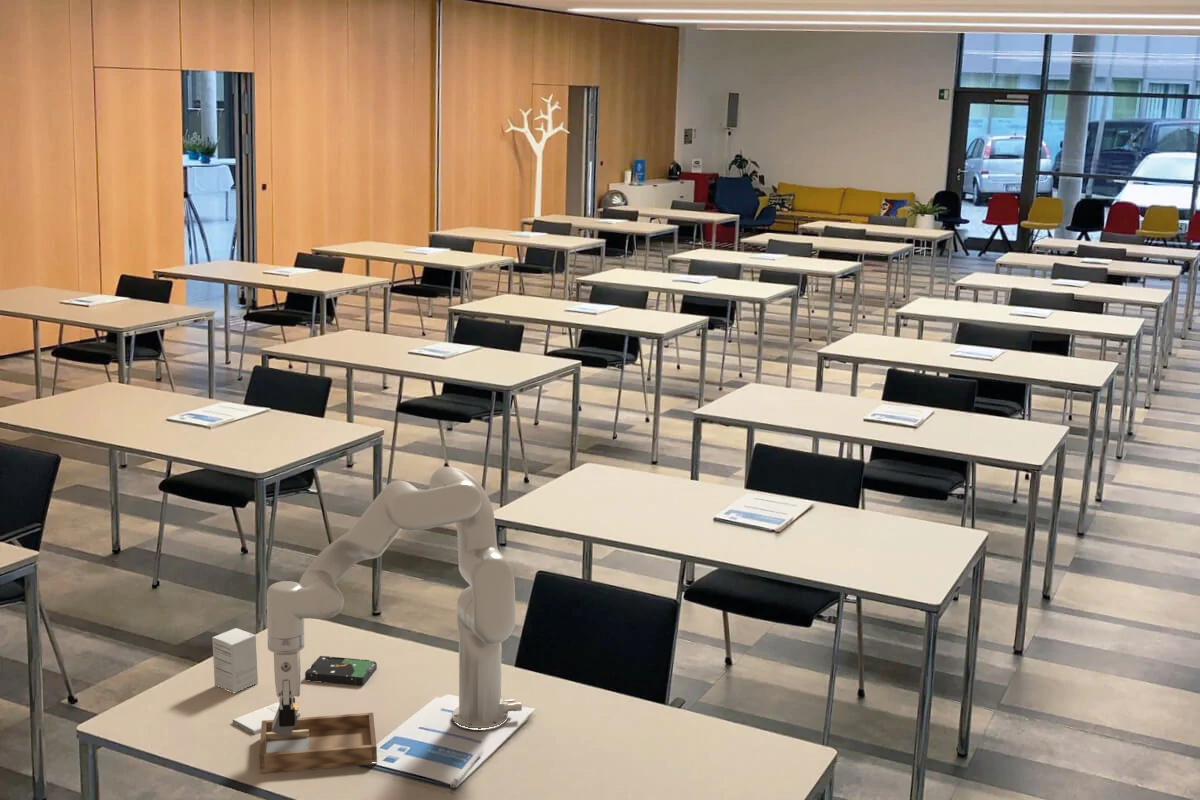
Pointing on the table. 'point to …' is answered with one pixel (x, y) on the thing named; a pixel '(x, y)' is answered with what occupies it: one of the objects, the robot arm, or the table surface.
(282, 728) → the block
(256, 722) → the external hard drive
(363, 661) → the disk drive
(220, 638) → the supplement box
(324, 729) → the crate
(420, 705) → the table surface
